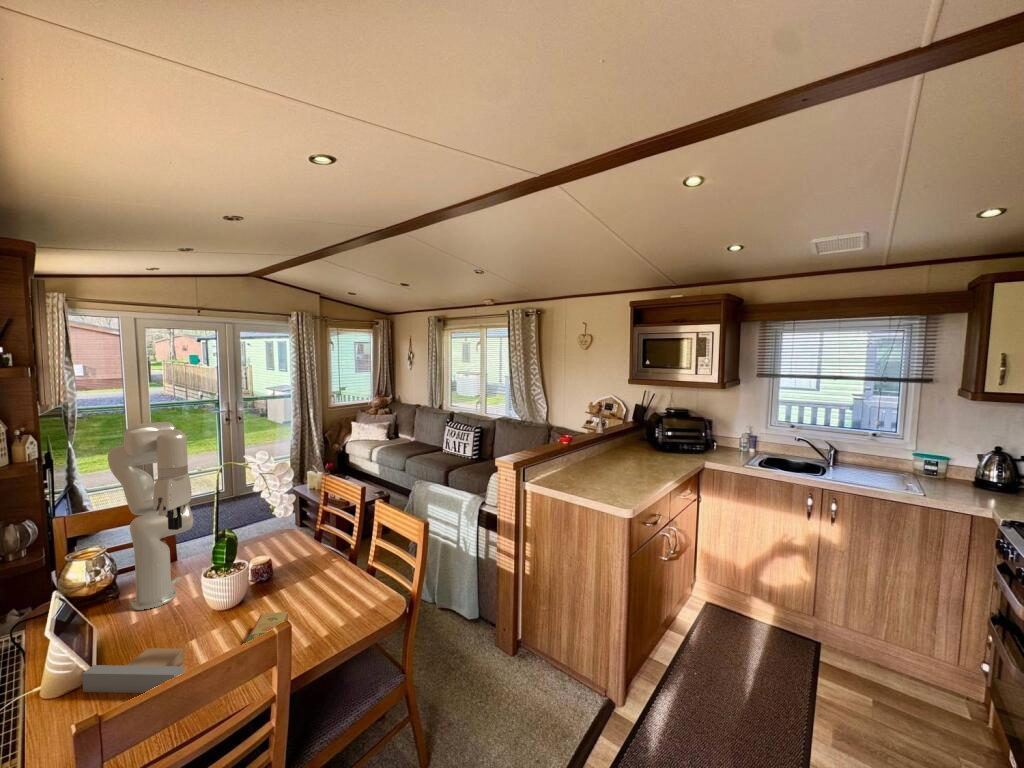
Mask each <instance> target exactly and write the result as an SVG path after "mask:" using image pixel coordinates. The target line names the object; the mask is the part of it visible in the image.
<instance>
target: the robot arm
mask: <svg viewBox="0 0 1024 768" xmlns="http://www.w3.org/2000/svg"><path fill="white" fill-rule="evenodd" d="M107 461H108V462H107V463H108V467H109V469H110V471H111V473H112V474H113V476H114V477H115V478H116V480H117V481H118V482H119V483H120V484H121V486H122V490H123V492H124V496H125V500H126V502H127V506H128V509H129V511H130V512H131V514H133V515H136V516H137V517H134V519H132V521H131V522H130V524H129V533H130V538H131V540H132V545H133V552H134V553H133V554H134V568H135V569H134V574H135V591H136V592H135V593H136V594H135V595H136V597H135V598H134V599H133V600H132V601H131V602H130V608H131V609H132V610H134V611H135V610H136V611H144V609H147V610H151V609H150V608H152V609H155V608H158V607H161V606H164V605H165V604H167V603H170V602H171V601H173V600H174V599H175V598H176V597H177V595H178V592H177V589H176V588H174V587H175V585H177V584H178V583H180V582H181V580H182V579H181V577H180V576H176V577H175V578H173V579H172V576H171V575H172V573H171V570H172V569H171V551H170V550H171V549H170V546H168V544H167V543H165V542H164V541H162V539H164V538H166V537H171V536H174V535H178V534H180V533H184V532H187V531H189V530H190V529H192V527H193V525H194V516H193V512H192V509H191V506H190V502H191V500H192V484H191V478H190V475H189V467H188V466H189V464H188V463H189V462H188V438H187V434H186V433H184V432H183V431H182V430H181V429H178V428H176V426H175V425H174V424H173V423H171V422H169V421H157V422H144V423H138V424H133V425H131V426H129V427H128V428H127V429H125V431H124V433H123V444H122V445H118V446H115V447H113V448H112V449H110V450H109V451H108V454H107ZM149 464H157V465H156V466H157V478H156V480H155V483H154V479H153V477H152V475H151V474H149V473H148V472H147V471H145V470H143V469H141V468H138V467H137V466H143V465H149ZM172 599H173V600H172ZM163 604H164V605H163ZM154 607H155V608H154Z"/></svg>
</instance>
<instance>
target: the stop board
mask: <svg viewBox="0 0 1024 768" xmlns="http://www.w3.org/2000/svg"><path fill="white" fill-rule="evenodd" d="M184 669H185V667H184V666H182V665H181V666H126V665H116V664H115V665H111V664H110V665H108V664H98V665H97V664H93V665H92V666H91V667H89V668H87V669H86V670H85V671H84V672H82V674H81V675H82V677H81V678H82V692H83V693H115V694H116V693H117V694H118V693H121V694H122V693H124V694H127V693H128V694H132V693H133V694H139V693H140V694H145V693H144V692H146V691H148V690H150V689H152V688H154V687H156V686H158V685H160V684H162V683H164V682H165V681H167V680H169V679H172V678H174V677H176V676H178V675H180V674H182V673H184V672H185V671H184ZM184 674H185V673H184Z"/></svg>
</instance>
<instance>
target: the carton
mask: <svg viewBox="0 0 1024 768" xmlns="http://www.w3.org/2000/svg"><path fill="white" fill-rule="evenodd" d="M287 620H288V621H289V612H288V611H281V612H280V611H279V612H271V613H265V614H260V615H259V617H258V619H257V620H256V622H255V625H254V626H253V628H252V630H251V631H250V634H249V635H248V637H247V638H246V640H245V643H246V642H248V641H250V640H252V639H254V638H256V637H258V636H260V635H262V634H264V633H266V632H267V631H269V630H271V629H273V628H274V627H275V626H276V625H277V624H279V623H281V622H283V621H287ZM245 643H244V644H245Z"/></svg>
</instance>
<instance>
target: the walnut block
mask: <svg viewBox="0 0 1024 768" xmlns="http://www.w3.org/2000/svg"><path fill="white" fill-rule="evenodd" d="M184 659H185V658H184V648H171V647H166V648H165V647H162V648H161V647H148V648H146V649H145V650H144V651H142V652H141V653H140V654H138V655H137V656H135V657H134V658H133V660H131V661H130V662H129V663H127V664H126V665H125V666H181V667H182V665H183V664H184V662H185V660H184Z"/></svg>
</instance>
